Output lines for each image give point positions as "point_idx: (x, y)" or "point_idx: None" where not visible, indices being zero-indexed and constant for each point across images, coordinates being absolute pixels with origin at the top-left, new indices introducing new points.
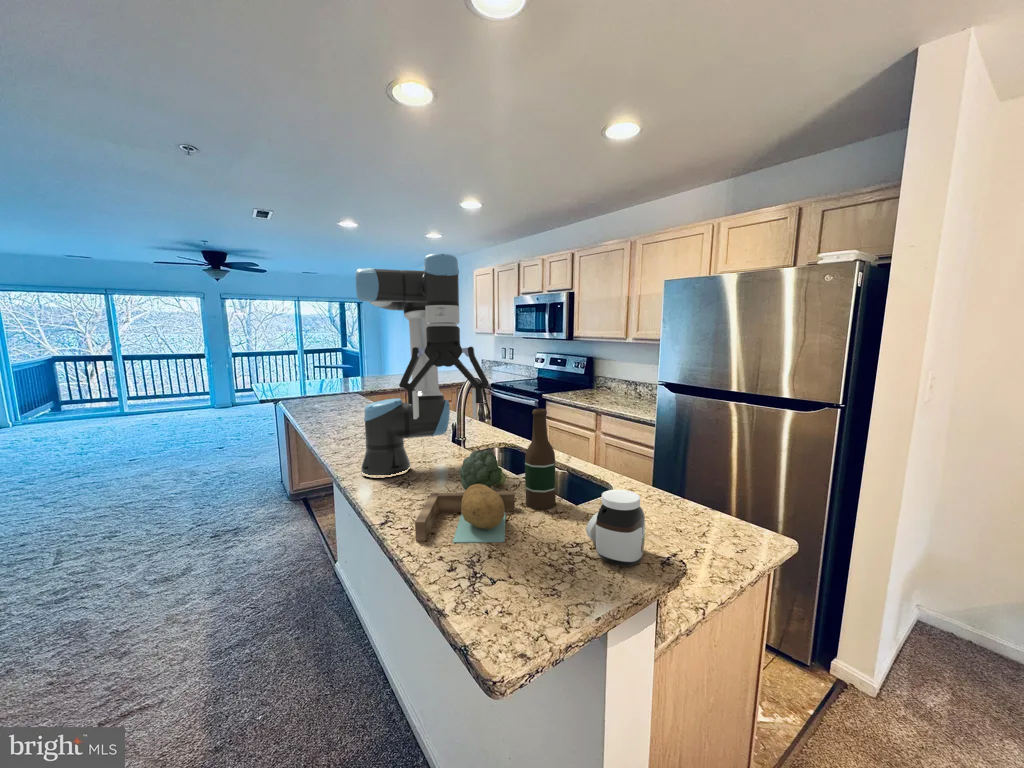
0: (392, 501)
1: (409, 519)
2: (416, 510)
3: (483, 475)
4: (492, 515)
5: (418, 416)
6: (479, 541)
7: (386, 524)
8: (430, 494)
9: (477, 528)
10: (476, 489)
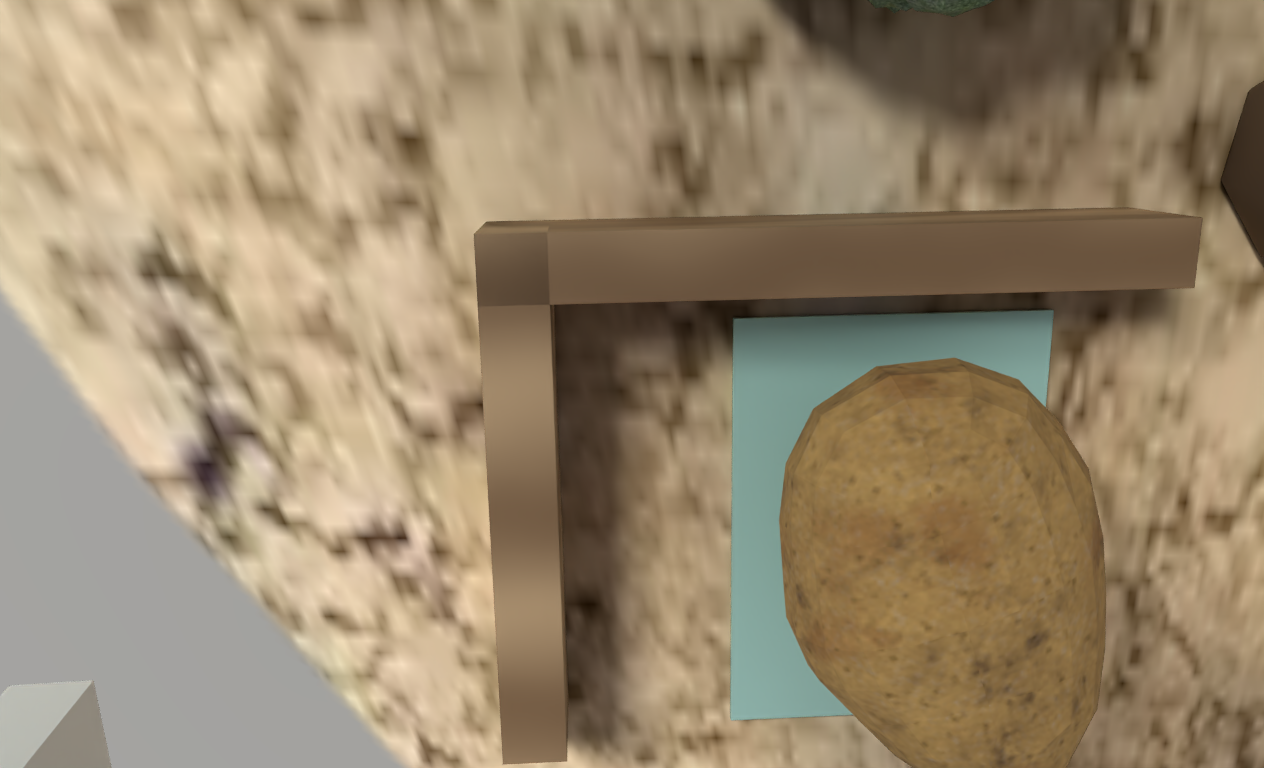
0: (88, 37)
1: (372, 405)
2: (371, 245)
3: (971, 7)
4: None
5: (98, 757)
6: None
7: (237, 482)
8: (476, 267)
9: None
10: (940, 602)
